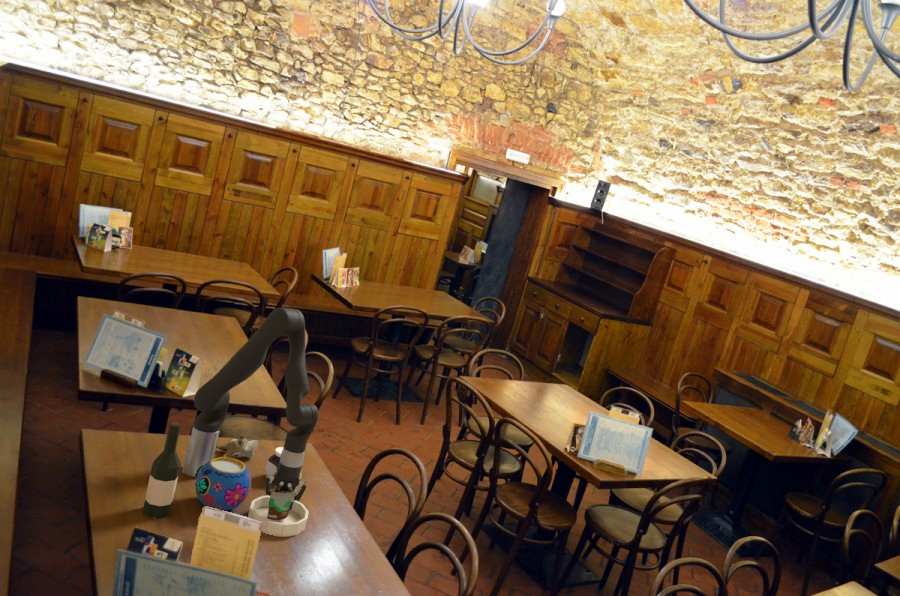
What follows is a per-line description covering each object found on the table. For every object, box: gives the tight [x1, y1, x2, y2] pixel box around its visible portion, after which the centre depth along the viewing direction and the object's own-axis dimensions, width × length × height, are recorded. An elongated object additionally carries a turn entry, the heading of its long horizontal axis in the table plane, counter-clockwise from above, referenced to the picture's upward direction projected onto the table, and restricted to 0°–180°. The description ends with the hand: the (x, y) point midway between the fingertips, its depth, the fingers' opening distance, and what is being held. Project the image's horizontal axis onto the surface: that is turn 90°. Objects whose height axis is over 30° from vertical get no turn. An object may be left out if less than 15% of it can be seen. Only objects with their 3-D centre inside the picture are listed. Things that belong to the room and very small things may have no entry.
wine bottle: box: [142, 421, 182, 519], centre depth 228 cm, size 8×8×30 cm
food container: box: [267, 486, 297, 520], centre depth 242 cm, size 12×6×10 cm, turn 168°
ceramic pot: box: [194, 456, 252, 511], centre depth 242 cm, size 18×18×15 cm
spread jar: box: [265, 446, 303, 484], centre depth 273 cm, size 12×11×12 cm
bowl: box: [247, 495, 310, 538], centre depth 243 cm, size 19×19×4 cm
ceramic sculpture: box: [216, 436, 260, 459], centre depth 282 cm, size 11×9×15 cm
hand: (279, 508), depth 242 cm, fingers closed on food container, 5 cm apart
